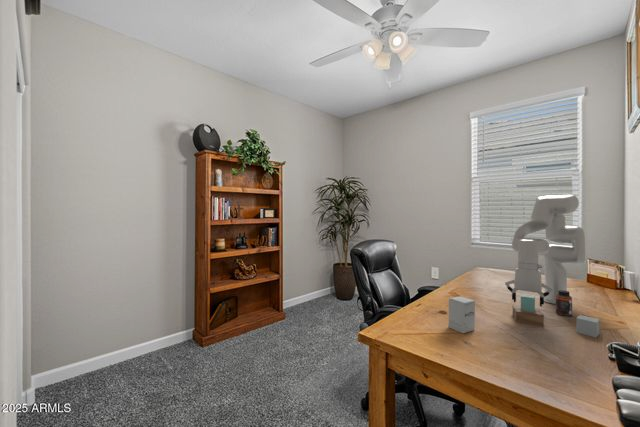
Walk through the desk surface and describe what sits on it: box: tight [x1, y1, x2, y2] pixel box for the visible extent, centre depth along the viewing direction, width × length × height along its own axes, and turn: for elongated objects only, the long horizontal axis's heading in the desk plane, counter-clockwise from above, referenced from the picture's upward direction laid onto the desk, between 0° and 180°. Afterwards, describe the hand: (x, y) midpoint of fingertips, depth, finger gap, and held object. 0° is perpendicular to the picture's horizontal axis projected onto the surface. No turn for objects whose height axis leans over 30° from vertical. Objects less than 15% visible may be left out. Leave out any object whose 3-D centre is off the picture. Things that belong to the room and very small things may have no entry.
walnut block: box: [512, 304, 545, 327], centre depth 129 cm, size 10×10×5 cm
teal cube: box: [520, 294, 536, 312], centre depth 129 cm, size 5×5×6 cm
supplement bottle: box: [555, 290, 573, 317], centre depth 136 cm, size 6×6×11 cm
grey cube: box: [575, 314, 600, 338], centre depth 115 cm, size 6×6×6 cm
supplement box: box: [448, 296, 476, 334], centre depth 118 cm, size 7×7×13 cm
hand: (527, 303), depth 129 cm, fingers open, 9 cm apart
